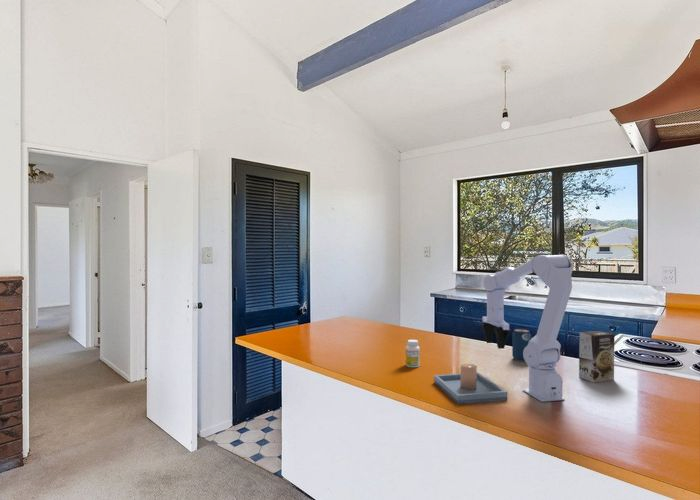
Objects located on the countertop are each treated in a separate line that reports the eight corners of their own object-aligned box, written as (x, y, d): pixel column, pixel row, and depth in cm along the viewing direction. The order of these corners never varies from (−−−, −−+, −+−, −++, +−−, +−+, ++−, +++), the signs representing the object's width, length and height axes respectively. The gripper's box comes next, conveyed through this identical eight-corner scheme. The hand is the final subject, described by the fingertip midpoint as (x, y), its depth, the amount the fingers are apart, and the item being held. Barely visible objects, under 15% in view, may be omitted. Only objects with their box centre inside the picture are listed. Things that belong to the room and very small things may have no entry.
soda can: (532, 362, 153) (533, 332, 153) (514, 361, 155) (514, 331, 155) (528, 357, 160) (528, 328, 160) (510, 356, 162) (510, 327, 161)
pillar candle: (479, 390, 122) (479, 368, 122) (464, 391, 122) (464, 369, 121) (471, 384, 127) (471, 363, 127) (457, 385, 126) (457, 364, 126)
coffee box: (594, 383, 131) (594, 335, 130) (578, 376, 137) (578, 331, 137) (615, 380, 133) (615, 333, 133) (598, 374, 139) (598, 329, 139)
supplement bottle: (410, 362, 154) (410, 338, 154) (422, 365, 151) (422, 340, 151) (403, 365, 150) (403, 341, 150) (415, 368, 147) (415, 343, 147)
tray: (507, 400, 117) (507, 391, 117) (457, 404, 114) (457, 395, 114) (477, 379, 135) (477, 372, 135) (434, 382, 132) (434, 375, 132)
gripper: (475, 305, 146) (475, 341, 146) (496, 311, 132) (495, 351, 132) (492, 304, 147) (492, 340, 148) (514, 311, 133) (514, 350, 133)
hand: (495, 345), depth 140 cm, fingers open, 7 cm apart
